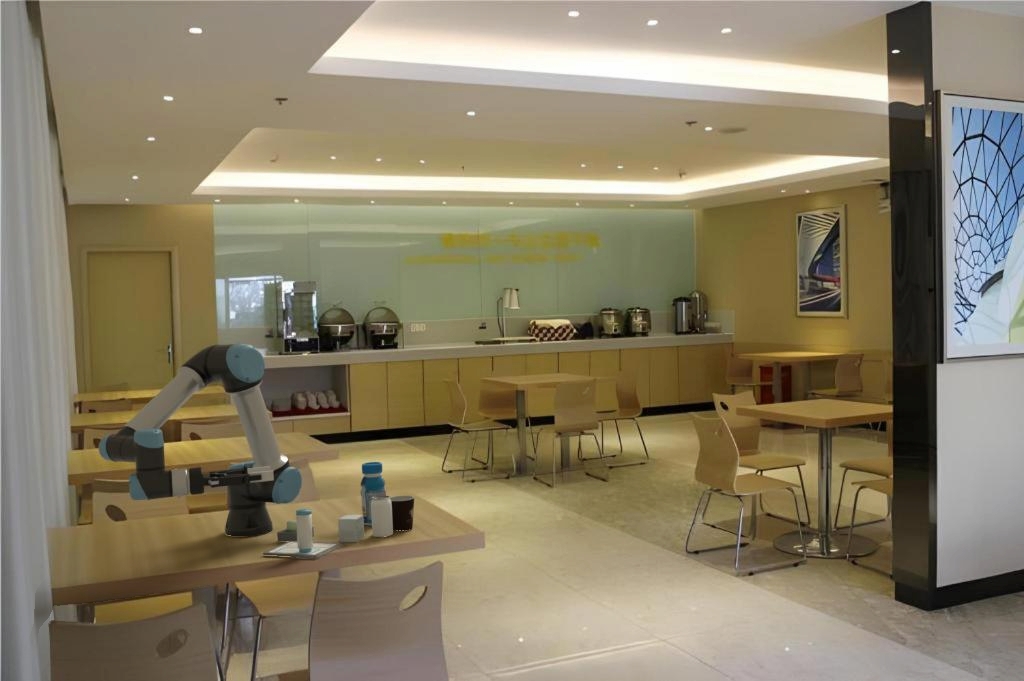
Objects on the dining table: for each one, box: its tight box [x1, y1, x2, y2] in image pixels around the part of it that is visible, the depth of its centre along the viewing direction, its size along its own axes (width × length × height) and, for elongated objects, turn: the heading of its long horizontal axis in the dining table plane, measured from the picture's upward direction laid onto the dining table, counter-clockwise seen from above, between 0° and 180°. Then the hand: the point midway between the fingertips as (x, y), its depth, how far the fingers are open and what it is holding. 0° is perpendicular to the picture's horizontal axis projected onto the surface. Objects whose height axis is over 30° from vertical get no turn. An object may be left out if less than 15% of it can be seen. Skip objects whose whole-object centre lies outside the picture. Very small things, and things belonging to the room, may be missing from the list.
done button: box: [286, 519, 297, 532], centre depth 290 cm, size 5×5×3 cm
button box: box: [276, 526, 315, 542], centre depth 290 cm, size 8×8×3 cm
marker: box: [295, 508, 314, 553], centre depth 270 cm, size 4×4×12 cm
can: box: [371, 495, 394, 538], centre depth 289 cm, size 6×6×12 cm
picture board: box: [262, 541, 342, 560], centre depth 274 cm, size 18×14×1 cm
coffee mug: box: [389, 495, 415, 532], centre depth 298 cm, size 12×9×10 cm
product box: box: [337, 514, 365, 543], centre depth 285 cm, size 6×6×7 cm
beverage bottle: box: [360, 461, 387, 526], centre depth 307 cm, size 8×8×20 cm
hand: (271, 473), depth 267 cm, fingers open, 8 cm apart
